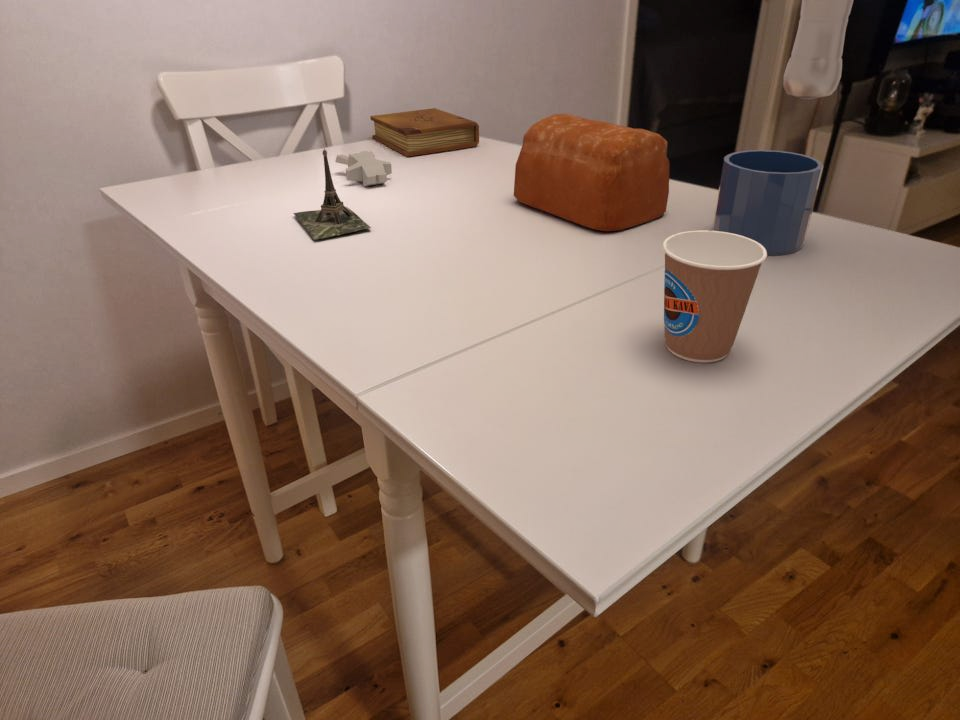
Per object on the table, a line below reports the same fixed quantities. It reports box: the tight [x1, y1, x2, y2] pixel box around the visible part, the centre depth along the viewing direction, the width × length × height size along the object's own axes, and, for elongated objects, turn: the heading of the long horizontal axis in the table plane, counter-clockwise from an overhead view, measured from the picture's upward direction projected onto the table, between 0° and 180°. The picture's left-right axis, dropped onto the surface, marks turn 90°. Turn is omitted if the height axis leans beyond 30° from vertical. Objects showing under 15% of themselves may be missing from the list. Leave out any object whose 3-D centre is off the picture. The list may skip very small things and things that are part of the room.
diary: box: [370, 107, 480, 158], centre depth 161 cm, size 23×19×6 cm
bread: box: [513, 113, 670, 232], centre depth 113 cm, size 17×24×15 cm
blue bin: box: [711, 149, 824, 257], centre depth 99 cm, size 13×13×12 cm
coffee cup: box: [662, 229, 768, 364], centre depth 71 cm, size 10×10×12 cm
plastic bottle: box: [782, 0, 855, 100], centre depth 80 cm, size 6×7×20 cm
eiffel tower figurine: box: [293, 143, 372, 241], centre depth 110 cm, size 15×10×13 cm
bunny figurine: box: [334, 150, 393, 187], centre depth 135 cm, size 10×5×15 cm
